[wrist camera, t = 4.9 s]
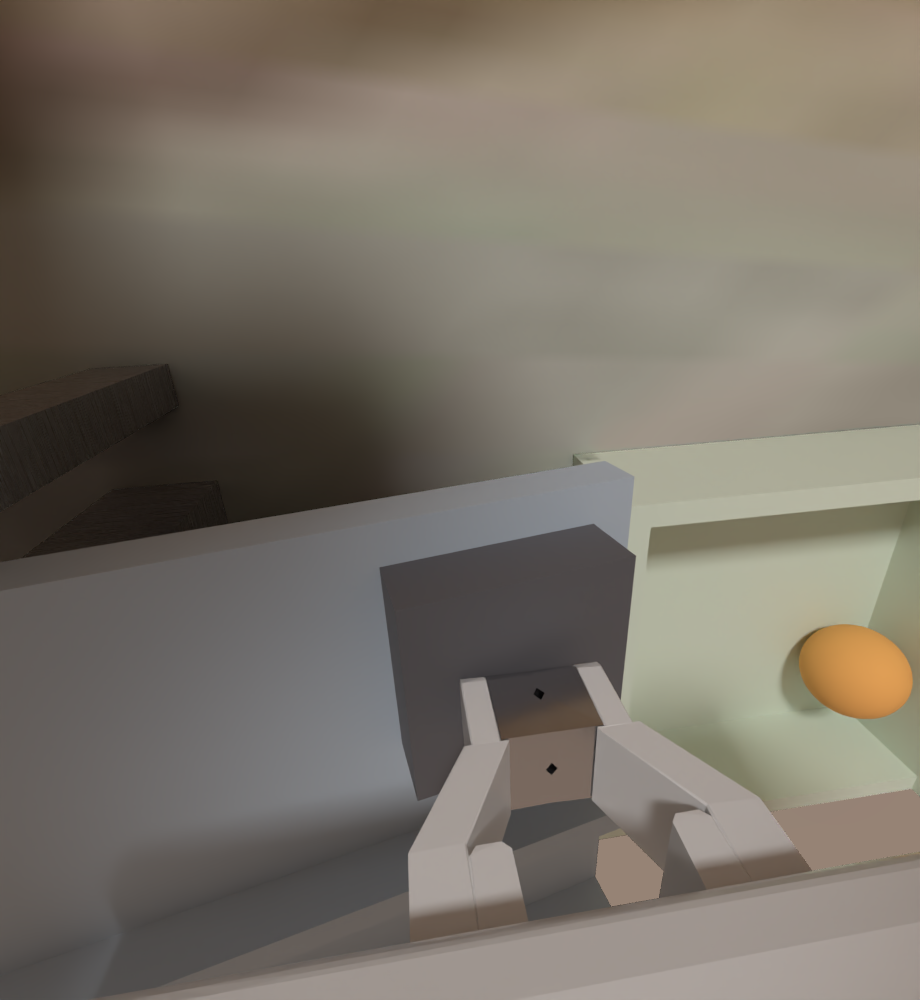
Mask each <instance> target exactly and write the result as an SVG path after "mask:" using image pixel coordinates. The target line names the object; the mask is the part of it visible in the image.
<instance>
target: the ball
mask: <svg viewBox="0 0 920 1000" xmlns="http://www.w3.org/2000/svg"><path fill="white" fill-rule="evenodd" d="M799 669H800V673H801V677H802V679H803V681H804V683H805V685H806V687H807V688H808V690H809V691H810V692H811V694H812V695H813V696H814V697H815V698H816V699H817V700H818V701H820V702H821V703H822V704H823V705H825V706H826V707H828V708H829V709H831V710H833V711H835V712H837V713H839V714H842V715H845V716H848V717H852V718H857V719H876V718H881V717H885V716H888V715H890V714H892V713H894V712H896V711H897V710H898V709H900V708H901V707H902V706H903V705H904V704H905V703H906V701H907V700H908V698H909V696H910V694H911V690H912V687H913V677H912V671H911V667H910V665H909V663H908V661H907V659H906V657H905V655H904V654H903V653H902V651H901V650H900V649H899V648H898V647H897V646H896V645H895V644H894V643H893V642H892V641H891V640H889V639H888V638H886V637H885V636H883V635H882V634H880V633H878V632H876V631H874V630H871V629H869V628H866V627H862V626H857V625H850V624H839V625H832V626H829V627H825V628H823V629H820V630H818V631H817V632H815V633H814V634H812V635H811V636H810V637H809V638H808V639H807V640H806V642H805V643H804V645H803V647H802V649H801V652H800V656H799Z"/></svg>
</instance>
